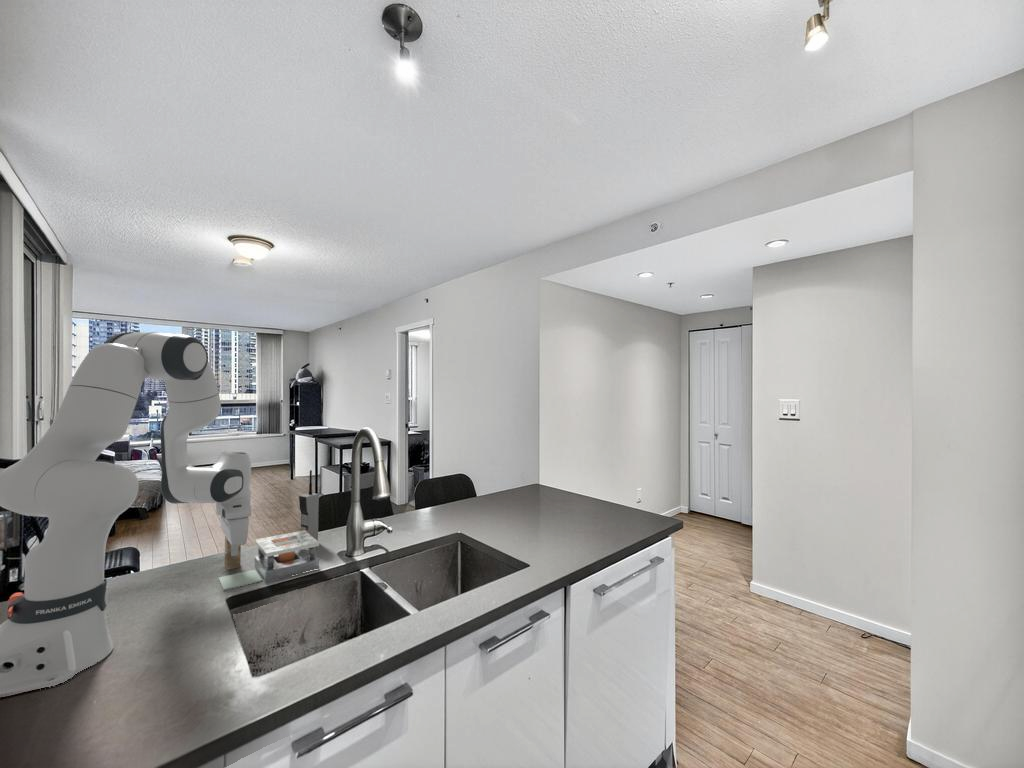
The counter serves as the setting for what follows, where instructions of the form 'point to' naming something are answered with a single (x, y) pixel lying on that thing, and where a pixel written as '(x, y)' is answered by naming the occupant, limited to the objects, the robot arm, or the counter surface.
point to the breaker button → (286, 556)
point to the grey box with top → (269, 552)
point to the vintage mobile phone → (309, 511)
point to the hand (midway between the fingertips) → (232, 552)
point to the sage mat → (239, 579)
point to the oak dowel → (231, 560)
